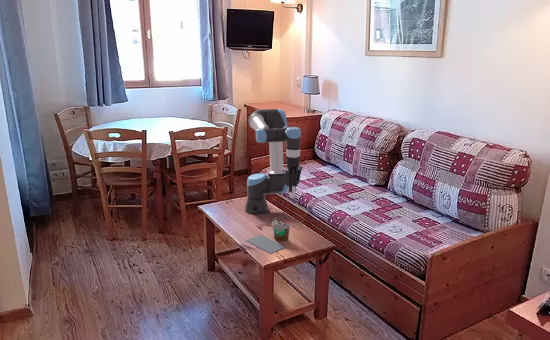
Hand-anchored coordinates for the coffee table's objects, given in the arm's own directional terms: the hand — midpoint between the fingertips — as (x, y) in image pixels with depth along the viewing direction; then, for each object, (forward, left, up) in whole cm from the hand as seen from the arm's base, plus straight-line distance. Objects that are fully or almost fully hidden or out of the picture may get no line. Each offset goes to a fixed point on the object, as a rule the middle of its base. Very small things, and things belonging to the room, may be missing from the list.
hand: (292, 197), depth 242 cm
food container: (+10, 0, -23) cm, 25 cm away
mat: (+20, 0, -22) cm, 30 cm away
